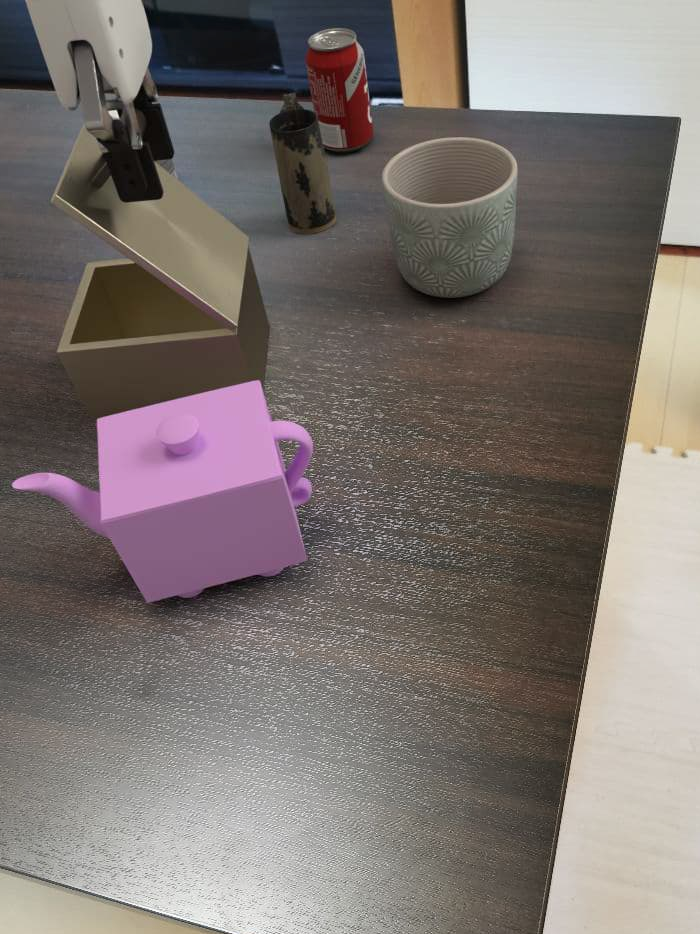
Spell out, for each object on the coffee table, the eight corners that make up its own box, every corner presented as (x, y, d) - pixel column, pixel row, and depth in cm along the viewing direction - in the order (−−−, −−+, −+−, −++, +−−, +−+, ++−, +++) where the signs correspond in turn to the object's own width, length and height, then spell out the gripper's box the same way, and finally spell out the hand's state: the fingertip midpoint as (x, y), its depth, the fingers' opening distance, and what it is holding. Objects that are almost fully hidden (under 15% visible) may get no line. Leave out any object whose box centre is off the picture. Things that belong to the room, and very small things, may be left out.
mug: (339, 230, 92) (321, 119, 83) (289, 238, 92) (265, 128, 82) (332, 193, 97) (314, 85, 88) (285, 201, 97) (262, 93, 87)
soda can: (342, 162, 101) (326, 56, 92) (309, 145, 105) (290, 41, 95) (385, 140, 104) (373, 35, 94) (351, 124, 107) (336, 21, 98)
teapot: (318, 471, 69) (288, 350, 60) (344, 565, 63) (315, 446, 53) (76, 532, 67) (4, 418, 58) (78, 635, 61) (-3, 526, 51)
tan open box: (97, 431, 75) (56, 352, 68) (121, 341, 83) (87, 262, 76) (261, 415, 74) (236, 334, 67) (269, 326, 82) (248, 245, 75)
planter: (407, 322, 81) (396, 217, 72) (383, 252, 88) (370, 150, 80) (531, 296, 81) (535, 190, 73) (496, 229, 89) (496, 126, 81)
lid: (49, 202, 58) (90, 148, 55) (86, 117, 66) (123, 65, 63) (232, 332, 67) (275, 291, 64) (244, 243, 75) (283, 203, 72)
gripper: (25, -149, 55) (120, 129, 69) (-54, -61, 44) (77, 246, 58) (138, -161, 55) (210, 121, 69) (85, -76, 44) (183, 237, 58)
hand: (148, 176), depth 63 cm, fingers closed on lid, 5 cm apart
